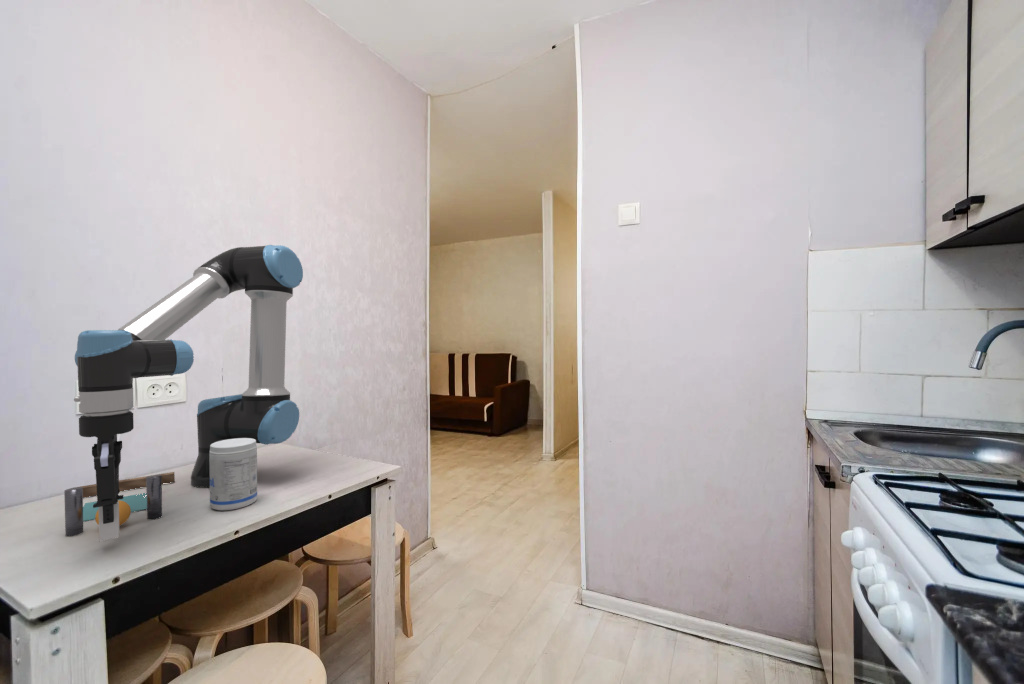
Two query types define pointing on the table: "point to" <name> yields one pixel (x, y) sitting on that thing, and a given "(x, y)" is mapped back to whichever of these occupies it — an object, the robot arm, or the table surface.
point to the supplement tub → (233, 473)
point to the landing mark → (132, 500)
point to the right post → (154, 496)
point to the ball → (123, 513)
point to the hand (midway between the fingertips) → (109, 537)
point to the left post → (73, 511)
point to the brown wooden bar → (128, 484)
